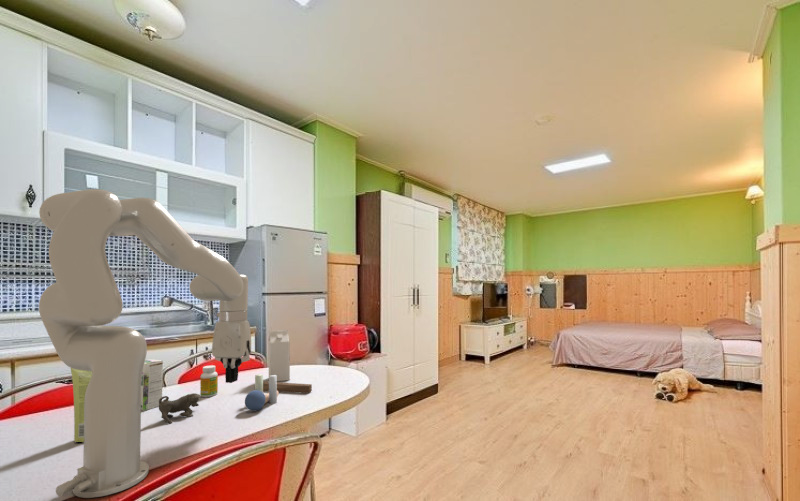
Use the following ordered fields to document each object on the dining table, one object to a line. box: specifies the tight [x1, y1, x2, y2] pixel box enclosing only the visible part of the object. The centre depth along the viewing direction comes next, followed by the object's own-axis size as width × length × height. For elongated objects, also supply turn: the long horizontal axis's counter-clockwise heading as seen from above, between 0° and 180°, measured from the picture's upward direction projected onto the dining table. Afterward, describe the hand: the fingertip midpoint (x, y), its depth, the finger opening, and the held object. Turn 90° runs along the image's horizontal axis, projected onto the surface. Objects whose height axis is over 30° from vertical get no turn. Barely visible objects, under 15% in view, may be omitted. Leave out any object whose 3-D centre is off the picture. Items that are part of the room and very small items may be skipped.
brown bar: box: [263, 381, 313, 394], centre depth 139 cm, size 2×20×2 cm, turn 76°
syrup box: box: [141, 358, 164, 411], centre depth 125 cm, size 6×6×14 cm
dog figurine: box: [158, 393, 201, 424], centre depth 116 cm, size 12×6×7 cm, turn 142°
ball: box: [244, 389, 266, 412], centre depth 120 cm, size 6×6×6 cm
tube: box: [70, 367, 92, 443], centre depth 102 cm, size 6×5×20 cm
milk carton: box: [268, 329, 291, 382], centre depth 154 cm, size 7×7×19 cm
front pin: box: [264, 391, 280, 404], centre depth 129 cm, size 2×2×8 cm
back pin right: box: [268, 375, 278, 405], centre depth 127 cm, size 2×2×8 cm
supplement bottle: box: [199, 364, 219, 398], centre depth 136 cm, size 5×5×10 cm
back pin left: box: [254, 373, 264, 393], centre depth 128 cm, size 2×2×8 cm
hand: (231, 381), depth 111 cm, fingers closed
